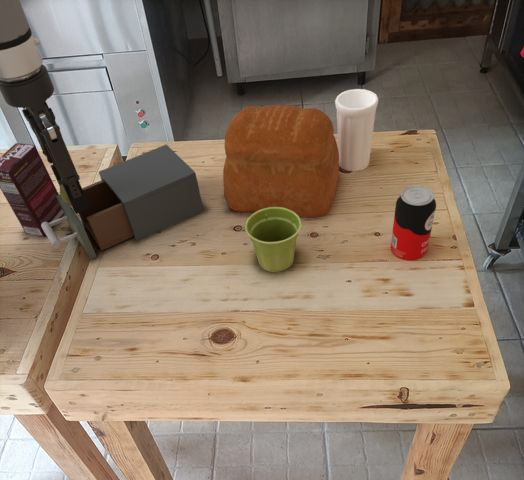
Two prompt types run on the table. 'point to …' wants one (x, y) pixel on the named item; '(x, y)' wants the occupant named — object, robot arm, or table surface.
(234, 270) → the table surface
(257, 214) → the plant pot
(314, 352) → the table surface
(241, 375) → the table surface
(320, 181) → the bread
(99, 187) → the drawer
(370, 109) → the cup
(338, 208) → the table surface
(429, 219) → the beverage can
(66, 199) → the green rock
